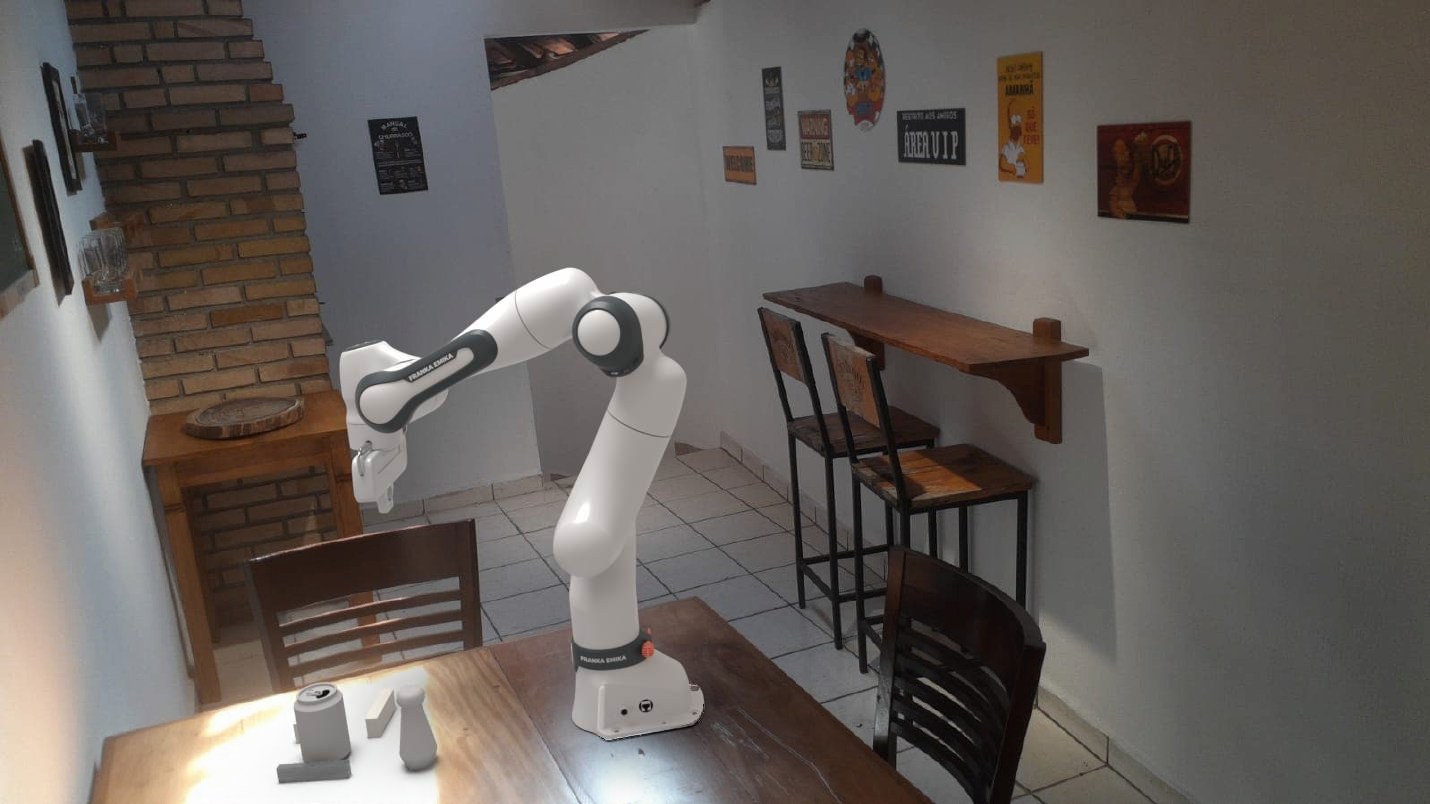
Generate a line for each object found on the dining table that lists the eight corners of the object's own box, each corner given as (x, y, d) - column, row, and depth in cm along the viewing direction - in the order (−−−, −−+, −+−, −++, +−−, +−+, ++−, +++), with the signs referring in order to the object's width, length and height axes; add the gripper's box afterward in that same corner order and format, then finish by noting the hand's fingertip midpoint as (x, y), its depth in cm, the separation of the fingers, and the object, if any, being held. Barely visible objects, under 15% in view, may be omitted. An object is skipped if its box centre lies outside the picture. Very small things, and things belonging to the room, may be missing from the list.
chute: (396, 707, 190) (393, 689, 189) (379, 737, 180) (377, 718, 180) (316, 712, 190) (313, 694, 189) (296, 743, 180) (293, 724, 180)
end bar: (351, 773, 170) (349, 759, 170) (349, 778, 169) (346, 763, 168) (281, 778, 170) (279, 764, 169) (278, 782, 169) (276, 768, 168)
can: (338, 770, 171) (327, 702, 168) (294, 769, 172) (282, 701, 170) (359, 745, 178) (349, 679, 176) (317, 744, 180) (306, 678, 177)
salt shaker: (446, 759, 172) (436, 685, 169) (419, 777, 168) (408, 701, 165) (421, 750, 176) (410, 677, 173) (393, 768, 171) (382, 693, 168)
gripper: (376, 449, 176) (387, 529, 179) (408, 418, 196) (418, 491, 199) (337, 452, 176) (350, 532, 179) (374, 421, 196) (384, 493, 199)
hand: (386, 510), depth 189 cm, fingers closed
